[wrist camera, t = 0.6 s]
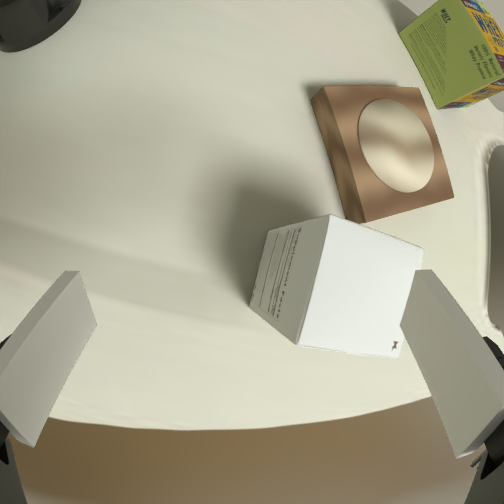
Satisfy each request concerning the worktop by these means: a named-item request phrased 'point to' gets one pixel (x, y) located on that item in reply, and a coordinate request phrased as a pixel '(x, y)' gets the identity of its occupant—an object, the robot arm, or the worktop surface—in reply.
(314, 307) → the supplement box
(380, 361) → the worktop surface
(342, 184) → the pedestal
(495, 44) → the protein box
